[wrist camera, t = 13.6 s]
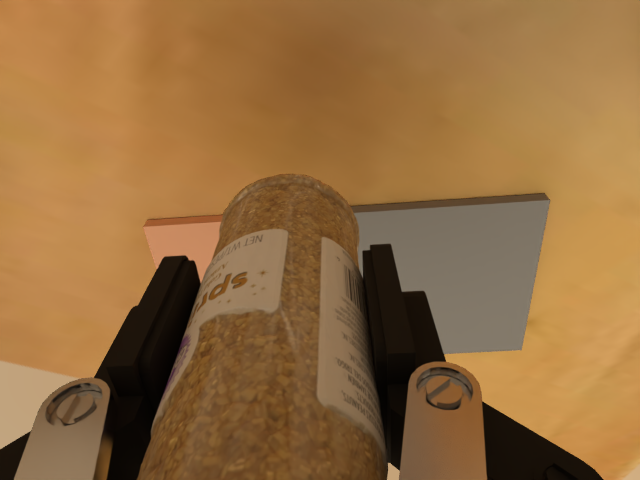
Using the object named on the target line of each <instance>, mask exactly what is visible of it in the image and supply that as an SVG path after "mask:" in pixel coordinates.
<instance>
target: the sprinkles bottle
mask: <svg viewBox="0 0 640 480" xmlns="http://www.w3.org/2000/svg"><path fill="white" fill-rule="evenodd" d="M358 247H359V226H358V222H357V219H356V217H355V215H354V213H353V211H352V209H351V207H350V206H349V204H348V202H347V201H346V200H345V199H344V198H343V197H342V196H341V195H340V194H339V193H338V192H337V191H335V190H334V189H333V188H332V187H330V186H328V185H326V184H324V183H323V182H321V181H319V180H316V179H314V178H312V177H310V176H307V175H296V174H279V175H276V176H273V177H267V178H264V179H261V180H258V181H256V182H254V183H252V184H250V185H248V186H246V187H245V188H244V189H243V190H241V191H240V192H239V193H238V194H237V195H236V196H235V197H234V199H233V200H232V201H231V202H230V203H229V205H228V207H227V208H226V209H225V211H224V213H223V217H222V221H221V224H220V229H219V241H218V243H217V246H216V248H215V251H214V255H213V258H212V261H211V263H210V265H209V266H208V268H207V270H206V272H205V274H204V277H203V280H202V283H201V285H200V288H199V291H198V294H197V297H196V300H195V303H194V306H193V308H192V312H191V315H190V318H189V321H188V324H187V328H186V331H185V333H184V336H183V339H182V342H181V345H180V348H179V351H178V354H177V357H176V360H175V363H174V366H173V368H172V371H171V374H170V377H169V380H168V382H167V385H166V388H165V391H164V393H163V396H162V399H161V402H160V404H159V407H158V410H157V413H156V415H155V418H154V421H153V424H152V429H151V441H150V443H149V446H148V448H147V451H146V453H145V456H144V459H143V463H142V464H141V468H140V472H139V475H138V478H137V480H387V474H388V461H387V453H386V445H385V437H384V430H383V422H382V415H381V408H380V400H379V395H378V392H377V388H376V380H375V372H374V363H373V355H372V347H371V338H370V330H369V322H368V314H367V306H366V298H365V289H364V281H363V277H362V275H361V273H360V270H359V263H358V254H357V253H358Z"/></svg>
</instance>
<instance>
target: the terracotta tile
mask: <svg viewBox="0 0 640 480" xmlns="http://www.w3.org/2000/svg"><path fill="white" fill-rule="evenodd" d="M222 217H223V215H214V216H199V217H184V218H169V219H154V220H147V222H146V223H145V225H144V226H143V228H144V231H145V234H146V237H147V241H148V244H149V247H150V250H151V253H152V256H153V260H154V263H155V266H156V269H157V268H158V266H159V265H160V263H161V261H162V259H163V258H164V257H165V256H181V255H186V256H187V257H188V259H189V260H194V261H195V263H196V266H197V270H198V274H199V278H200V282H201V283H202V280H203V277H204V274H205V272H206V270H207V268H208V266H209V265H210V263H211V261H212V258H213V255H214V251H215V248H216V246H217V243H218V241H219V229H220V224H221V221H222Z"/></svg>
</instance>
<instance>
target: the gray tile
mask: <svg viewBox="0 0 640 480" xmlns="http://www.w3.org/2000/svg"><path fill="white" fill-rule="evenodd" d="M549 204H550V199H549V198H548V197H547V196H546V195H545V194H544V193H543V194H528V195H513V196H498V197H483V198H468V199H454V200H439V201H424V202H409V203H394V204H379V205H364V206H350V207H351V209H352V211H353V213H354V215H355V217H356V219H357V222H358V226H359V247H358V253H357V254H358V263H359V270H360V273H361V275H362V277H363V260H362V251H363V250H370V245H373V244H391V246H392V250H393V255H394V259H395V264H396V268H397V272H398V277H399V281H400V286H401V290H402V292H406V291H424V292H425V293H426V296H427V299H428V303H429V306H430V309H431V313H432V316H433V319H434V323H435V326H436V330H437V333H438V336H439V340H440V343H441V346H442V350H443V353H444V354H452V353H472V352H492V351H512V350H522V345H523V340H524V334H525V329H526V324H527V319H528V314H529V308H530V303H531V298H532V293H533V287H534V282H535V277H536V272H537V266H538V261H539V256H540V251H541V245H542V240H543V235H544V230H545V224H546V219H547V214H548V209H549Z"/></svg>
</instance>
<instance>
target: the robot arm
mask: <svg viewBox="0 0 640 480" xmlns="http://www.w3.org/2000/svg"><path fill="white" fill-rule="evenodd" d="M362 260H363V281H364V289H365V298H366V306H367V314H368V322H369V330H370V338H371V347H372V355H373V363H374V372H375V380H376V388H377V392H378V395H379V400H380V408H381V415H382V422H383V430H384V437H385V445H386V453H387V461H388V463H391V464H392V465H393V466H395V467H396V468H397V469H398V470H399V471H400V475H399V480H603V479H602V477H601V476H600V475H599V474H598V473H597V472H596V471H595V470H594V469H593V468H592V467H590V466H589V465H588V464H586V463H585V462H584V461H582V460H580V459H579V458H577V457H575V456H574V455H572V454H570V453H569V452H567V451H565V450H563V449H562V448H560V447H558V446H557V445H555V444H553V443H552V442H550V441H548V440H547V439H545V438H543V437H541V436H540V435H538V434H536V433H535V432H533V431H531V430H530V429H528V428H526V427H525V426H523V425H521V424H519V423H518V422H516V421H514V420H513V419H511V418H509V417H508V416H506V415H504V414H503V413H501V412H499V411H497V410H496V409H494V408H492V407H491V406H489V405H487V404H486V403H484V402H482V394H481V389H480V385H479V383H478V381H477V380H476V378H475V377H474V375H472V374H471V373H470V372H469V371H467V370H466V369H465V368H463V367H460V366H458V365H456V364H453V363H448V362H446V360H445V356H444V353H443V350H442V346H441V343H440V340H439V336H438V333H437V330H436V326H435V323H434V319H433V316H432V313H431V309H430V306H429V303H428V299H427V296H426V293H425V292H424V291H406V292H402V290H401V286H400V281H399V277H398V272H397V268H396V264H395V259H394V255H393V250H392V246H391V244H373V245H370V250H363V251H362ZM200 285H201V282H200V278H199V274H198V270H197V266H196V263H195V261H194V260H189V259H188V257H187V256H186V255H181V256H165V257H164V258H163V259H162V261H161V263H160V265H159V266H158V268H157V270H156V272H155V274H154V276H153V278H152V280H151V282H150V284H149V286H148V287H147V289H146V291H145V293H144V295H143V297H142V299H141V301H140V303H139V305H138V306H135V307H133V308H132V309H131V310H130V312H129V314H128V316H127V317H126V319H125V321H124V323H123V325H122V327H121V329H120V330H119V332H118V334H117V336H116V338H115V340H114V341H113V343H112V345H111V347H110V349H109V351H108V353H107V354H106V356H105V358H104V360H103V362H102V364H101V366H100V367H99V369H98V371H97V373H96V375H95V377H94V378H82V379H78V380H75V381H72V382H69V383H68V384H66V385H63V386H62V387H60V388H58V389H57V390H56V391H54V392H53V393H52V394H50V396H49V397H48V398H47V399H46V400H45V401H44V402H43V403H42V405H41V407H40V409H39V411H38V414H37V416H36V419H35V422H34V425H33V427H32V430H31V431H30V432H29V433H27V434H25V435H24V436H22V437H20V438H18V439H17V440H15V441H14V442H12V443H10V444H8V445H7V446H5V447H3V448H2V449H0V480H137V478H138V475H139V472H140V468H141V464H142V463H143V459H144V456H145V453H146V451H147V448H148V446H149V443H150V441H151V429H152V424H153V421H154V418H155V415H156V413H157V410H158V407H159V404H160V402H161V399H162V396H163V393H164V391H165V388H166V385H167V382H168V380H169V377H170V374H171V371H172V368H173V366H174V363H175V360H176V357H177V354H178V351H179V348H180V345H181V342H182V339H183V336H184V333H185V331H186V328H187V324H188V321H189V318H190V315H191V312H192V308H193V306H194V303H195V300H196V297H197V294H198V291H199V288H200Z"/></svg>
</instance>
